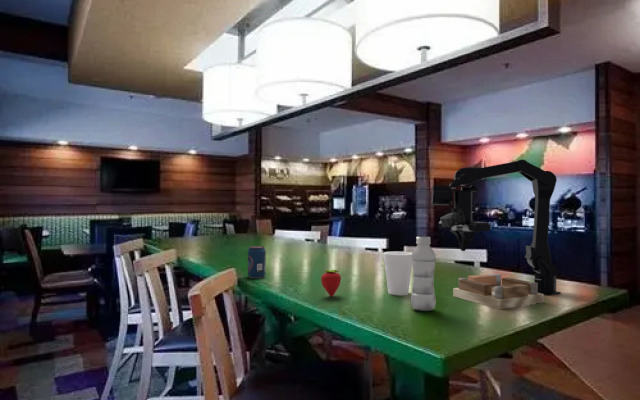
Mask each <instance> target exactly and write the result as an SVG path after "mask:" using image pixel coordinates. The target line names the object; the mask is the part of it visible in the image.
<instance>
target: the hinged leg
mask: <svg viewBox="0 0 640 400" xmlns="http://www.w3.org/2000/svg"><path fill="white" fill-rule="evenodd" d="M467 279H469V280H474V281H478V282H483V283H487V284H492V285H502V274H499V273H489V274H488V273H487V274H477V275H476V274H475V275H468V276H467Z"/></svg>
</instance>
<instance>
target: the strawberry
mask: <svg viewBox="0 0 640 400" xmlns="http://www.w3.org/2000/svg"><path fill="white" fill-rule="evenodd" d="M328 264H329V266H330V267H331V269H324V273H323V274H322V275H321V279H320V280H321V284H322V287H323V288H324V290H325V292H327V294H328V295H329V297H333V296H334V295H335V294H336V292H337V290H338V288H339V287H340V284H341V280H342V277H341V274H340V272H339V270H337V269H333V267H332V265H330V263H328Z"/></svg>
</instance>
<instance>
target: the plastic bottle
mask: <svg viewBox="0 0 640 400" xmlns="http://www.w3.org/2000/svg"><path fill="white" fill-rule="evenodd" d="M415 240H416V242H415V243H416V247H415V248H414V249H413V251H412V252H411V253H412V256H411V257H412V275H413V276H412V277H413V278H412V281H413V282H412V292H411V294H410V303H411V307H412V308H413V309H414V310H416V311H420V312H426V311H427V312H429V311H433V310H434V309H435V308H436V303H437V302H436V301H437V299H436V294H435V285H434V284H435V283H434V279H435V277H434V276H435V266H436V259H437V257H436V256H437V255H436V253H435V251H434V250H433V248H432V247H431V246H430V245H431V243H432V242H431V237H430V236H416V239H415Z"/></svg>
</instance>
